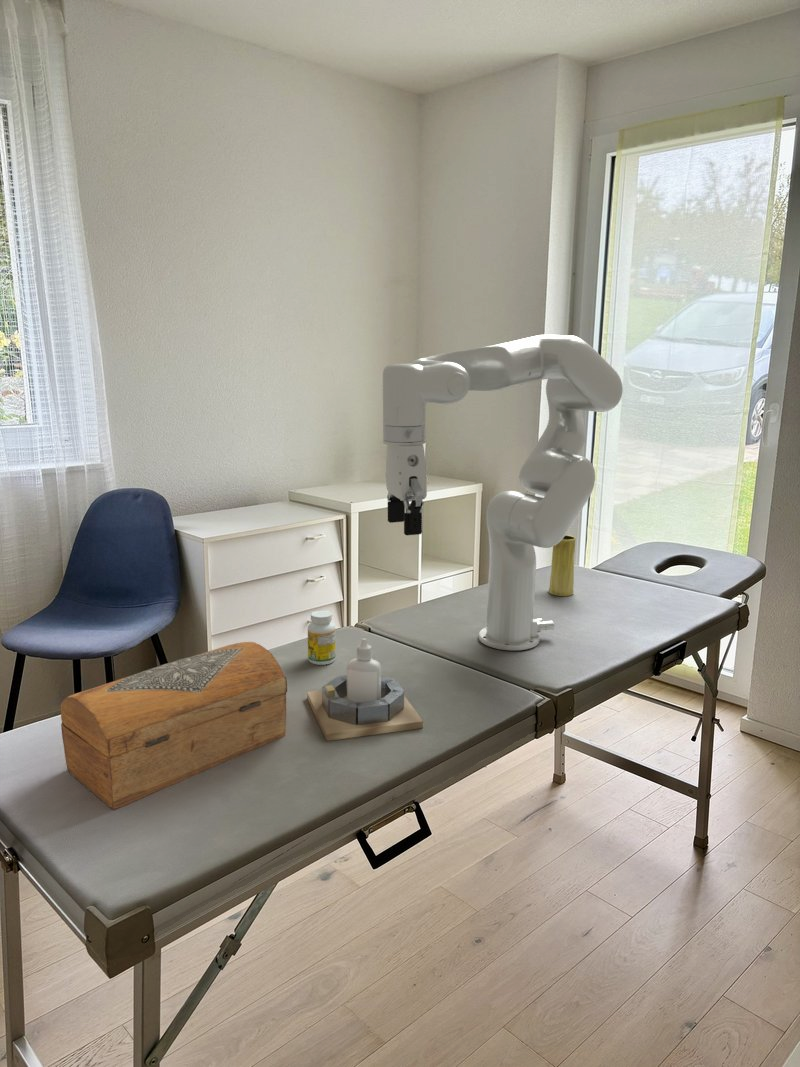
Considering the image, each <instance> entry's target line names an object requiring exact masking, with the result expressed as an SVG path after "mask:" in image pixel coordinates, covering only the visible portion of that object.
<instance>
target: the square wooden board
mask: <svg viewBox="0 0 800 1067" xmlns="http://www.w3.org/2000/svg"><path fill="white" fill-rule="evenodd" d="M306 698H307V701H308V703H309V705H310V707H311V709H312V712H313V714H314V716H315V719H316V721H317V723H318V725H319V727H320V730H321V732H322V734H323V736H324V739H325V741H326V742H328V741H329V742H330V741H337V740H343V739H344V740H345V739H353V738H360V737H365V736H366V737H367V736H374V735H380V734H388V733H396V732H403V731H410V730H417V729H418V730H419V729H424V721H423V720H422V718H421V717H420V715H419V714H418V713H417V711H416V710H415V708H414V707H413V705H412V704H411V703H410V701H409V700H408V698H407V697H406V696H405V695H404V709H403V710H402V711H401V712H399V713H398V714H397V715H396V716H395V717H393V718H392V719H391V720H390V721H389V720H388V721H387V722H380V723H372V724H364V725H358V724H357V725H353V724H350V723H346V722H342V721H338V720H335V719H331V718H330V717H328V716H327V713H326V711H325V709H324V707H323V705H322V689H321V690H320V689H319V690H312V691H306ZM343 699H347V696H345V697H344V698H343ZM381 699H382V697H381Z"/></svg>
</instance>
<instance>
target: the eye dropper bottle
mask: <svg viewBox="0 0 800 1067" xmlns="http://www.w3.org/2000/svg"><path fill="white" fill-rule="evenodd" d="M372 651H373V650H372V646H371V645H370V644H368V641H367V638H366V637H365V638H364V637H363V638H362V639H361V643H360V644H359V645H357V646H356V657H355V658H352V659H351V660H350V661H349V662H348V663H347V666H346V667H347V668H346V675H347V700H351V701H355V702H366V701H374V700H381V676H382V665H381V663H380V662H379V661H378V660H376V659H374V658H372V653H373V652H372Z"/></svg>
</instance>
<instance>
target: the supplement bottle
mask: <svg viewBox="0 0 800 1067" xmlns="http://www.w3.org/2000/svg"><path fill="white" fill-rule="evenodd" d="M332 616H333V615H332V613H331V611H328V610H316V611H312V612H311V613H310V620H311V622H310V623H309V624H308V625H307V659H308V661H309V663H311V664H313V665H318V666H326V664H327V665H330V664H332V663H334V661H336V656H337V655H336V651H337V650H336V626H335V624H334V623H333V622H332V620H333V619H332V618H333V617H332Z"/></svg>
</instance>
